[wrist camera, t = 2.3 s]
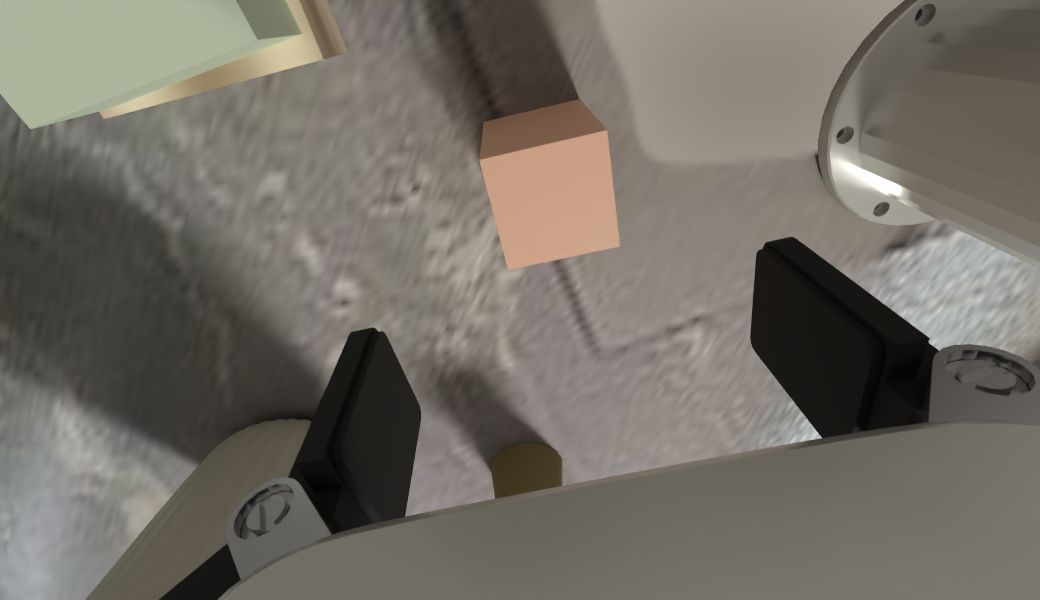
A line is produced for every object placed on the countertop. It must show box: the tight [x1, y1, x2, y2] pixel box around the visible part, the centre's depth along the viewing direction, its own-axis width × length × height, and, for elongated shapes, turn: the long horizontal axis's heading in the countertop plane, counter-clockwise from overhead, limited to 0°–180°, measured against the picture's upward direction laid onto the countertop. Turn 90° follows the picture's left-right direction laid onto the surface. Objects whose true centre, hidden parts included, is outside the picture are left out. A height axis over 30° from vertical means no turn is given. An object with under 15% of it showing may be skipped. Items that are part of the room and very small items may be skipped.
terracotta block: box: [479, 99, 620, 270], centre depth 22 cm, size 5×5×7 cm
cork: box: [491, 442, 562, 499], centre depth 34 cm, size 6×6×11 cm
